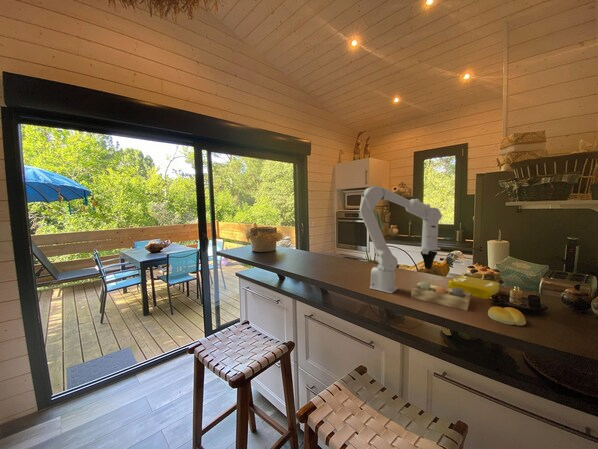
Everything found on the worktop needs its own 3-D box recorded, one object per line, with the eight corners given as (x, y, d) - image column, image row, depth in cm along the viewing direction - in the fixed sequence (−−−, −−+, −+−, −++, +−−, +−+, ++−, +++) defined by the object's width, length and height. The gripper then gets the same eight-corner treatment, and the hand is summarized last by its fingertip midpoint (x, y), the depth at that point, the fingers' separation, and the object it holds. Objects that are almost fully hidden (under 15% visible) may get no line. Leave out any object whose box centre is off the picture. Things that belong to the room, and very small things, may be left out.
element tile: (489, 301, 92) (490, 289, 92) (446, 290, 104) (447, 279, 104) (499, 292, 102) (500, 281, 102) (459, 283, 113) (459, 273, 113)
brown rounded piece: (434, 297, 93) (434, 288, 93) (435, 295, 96) (436, 286, 95) (444, 300, 91) (445, 291, 90) (446, 297, 93) (447, 288, 93)
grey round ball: (451, 298, 89) (451, 289, 89) (452, 296, 92) (453, 287, 92) (462, 301, 87) (463, 291, 87) (463, 298, 90) (464, 289, 90)
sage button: (418, 291, 96) (419, 283, 96) (420, 289, 99) (421, 281, 99) (428, 294, 94) (429, 285, 94) (430, 291, 97) (431, 283, 97)
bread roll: (483, 313, 82) (483, 301, 81) (515, 316, 79) (516, 304, 79) (495, 324, 74) (496, 311, 73) (531, 328, 71) (532, 315, 71)
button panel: (411, 297, 94) (411, 290, 94) (418, 289, 103) (419, 282, 103) (467, 310, 83) (467, 301, 83) (470, 300, 92) (470, 292, 92)
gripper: (437, 239, 92) (435, 273, 94) (443, 235, 104) (442, 266, 105) (417, 237, 97) (415, 270, 98) (425, 234, 108) (424, 264, 109)
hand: (428, 268), depth 102 cm, fingers closed
